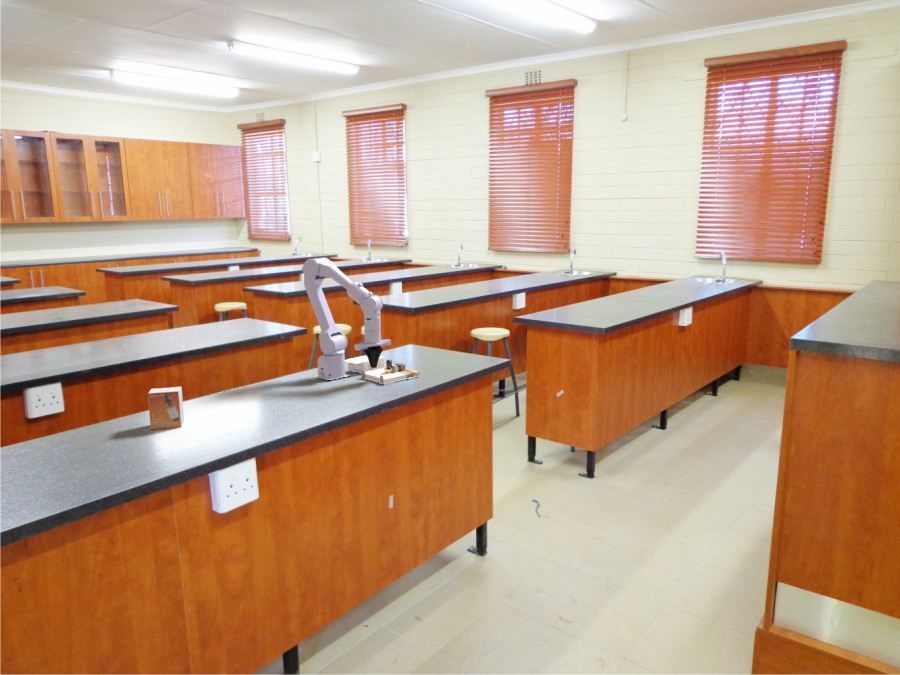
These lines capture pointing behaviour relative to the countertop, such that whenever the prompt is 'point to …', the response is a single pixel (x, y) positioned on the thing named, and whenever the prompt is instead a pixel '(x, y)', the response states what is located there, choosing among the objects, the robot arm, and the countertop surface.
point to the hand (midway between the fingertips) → (373, 367)
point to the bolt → (390, 366)
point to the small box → (166, 407)
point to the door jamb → (407, 370)
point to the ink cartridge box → (363, 364)
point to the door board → (383, 375)
